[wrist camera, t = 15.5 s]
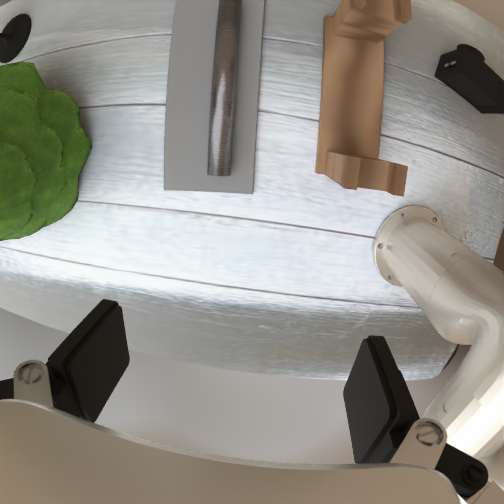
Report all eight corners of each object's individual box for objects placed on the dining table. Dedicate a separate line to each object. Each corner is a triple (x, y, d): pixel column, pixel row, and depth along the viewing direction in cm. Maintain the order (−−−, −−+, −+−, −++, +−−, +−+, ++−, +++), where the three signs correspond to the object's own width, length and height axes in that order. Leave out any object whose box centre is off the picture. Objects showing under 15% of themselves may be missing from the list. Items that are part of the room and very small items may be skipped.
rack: (379, 30, 30) (417, -1, 18) (371, 179, 38) (411, 197, 26) (323, 19, 30) (344, -22, 19) (315, 172, 38) (335, 187, 27)
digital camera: (489, 87, 31) (515, 85, 24) (481, 113, 33) (509, 114, 26) (442, 49, 30) (466, 39, 23) (434, 76, 32) (459, 69, 25)
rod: (214, -1, 28) (235, -6, 26) (226, 6, 30) (246, 3, 29) (202, 174, 36) (222, 176, 35) (215, 172, 39) (235, 174, 38)
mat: (264, -7, 29) (264, -8, 29) (252, 193, 40) (252, 194, 39) (178, -4, 29) (177, -5, 29) (165, 189, 40) (163, 190, 39)
